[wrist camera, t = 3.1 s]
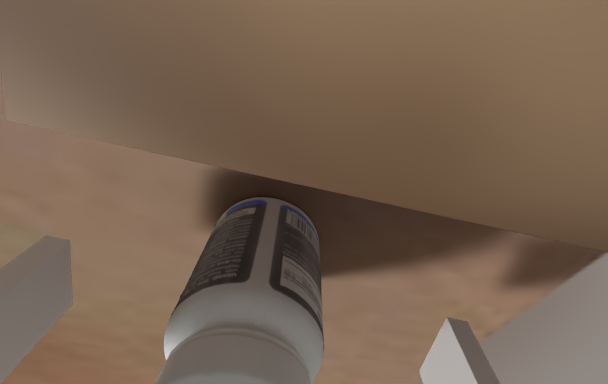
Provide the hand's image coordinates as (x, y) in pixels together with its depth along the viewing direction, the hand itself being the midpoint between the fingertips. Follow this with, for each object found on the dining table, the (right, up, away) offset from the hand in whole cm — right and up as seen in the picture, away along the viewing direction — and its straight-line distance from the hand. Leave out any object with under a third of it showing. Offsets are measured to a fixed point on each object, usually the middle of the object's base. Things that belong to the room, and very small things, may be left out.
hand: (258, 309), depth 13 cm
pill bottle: (0, +2, +4) cm, 4 cm away
